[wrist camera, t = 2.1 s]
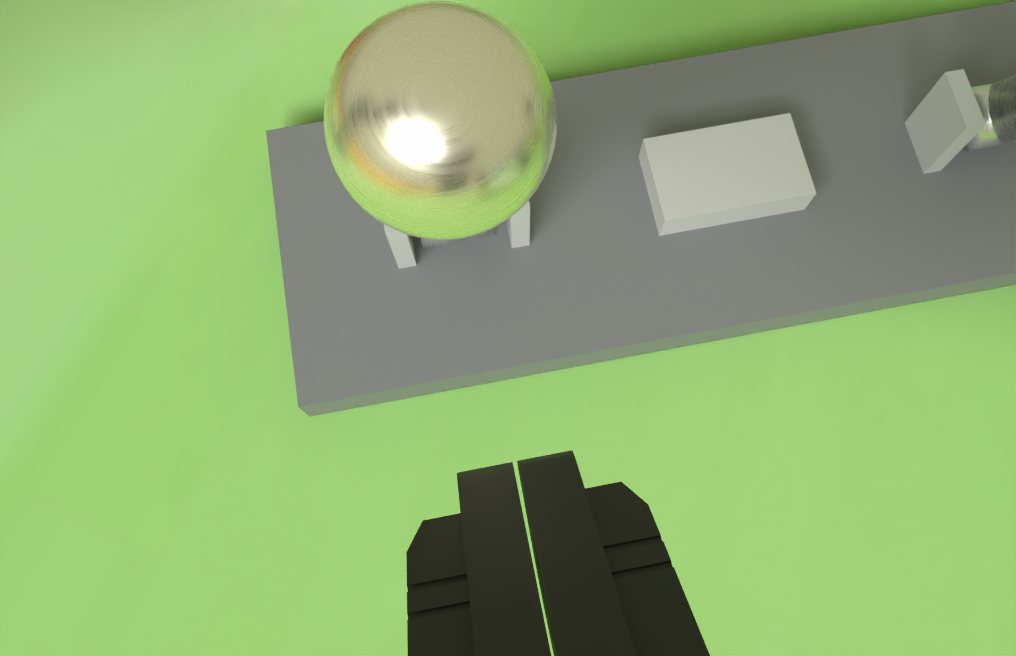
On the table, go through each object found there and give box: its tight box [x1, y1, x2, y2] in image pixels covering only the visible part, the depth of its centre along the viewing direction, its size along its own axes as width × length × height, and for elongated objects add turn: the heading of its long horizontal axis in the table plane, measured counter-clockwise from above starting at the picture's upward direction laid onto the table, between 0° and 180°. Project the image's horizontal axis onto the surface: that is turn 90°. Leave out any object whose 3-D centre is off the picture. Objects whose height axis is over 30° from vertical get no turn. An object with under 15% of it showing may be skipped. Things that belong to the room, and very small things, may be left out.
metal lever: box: [324, 1, 557, 248], centre depth 20 cm, size 4×4×17 cm
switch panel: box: [266, 1, 1016, 416], centre depth 28 cm, size 10×30×4 cm, turn 101°
